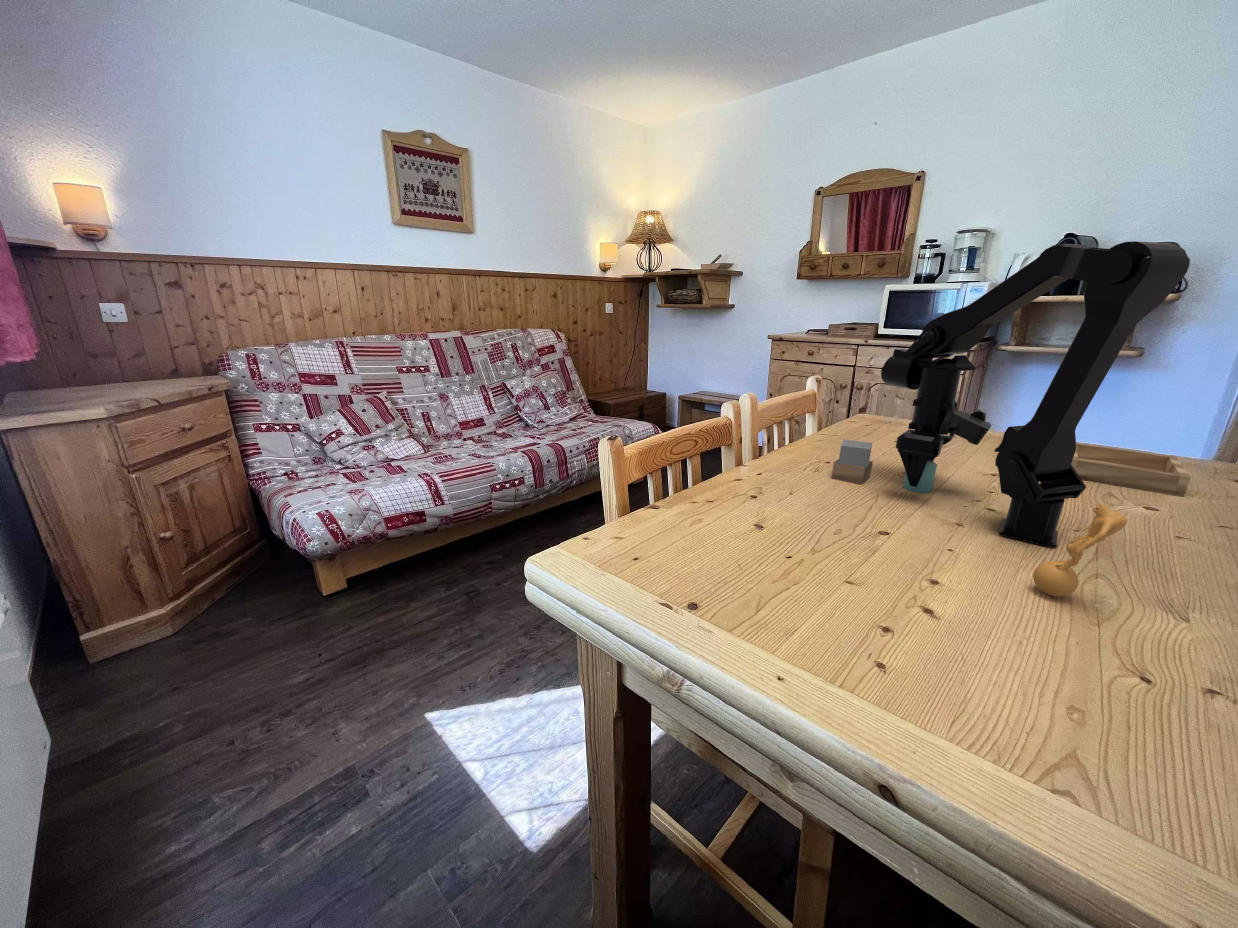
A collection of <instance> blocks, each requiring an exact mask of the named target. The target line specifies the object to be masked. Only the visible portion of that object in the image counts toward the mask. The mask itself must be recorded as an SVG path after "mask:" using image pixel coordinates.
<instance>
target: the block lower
mask: <svg viewBox="0 0 1238 928" xmlns="http://www.w3.org/2000/svg"><path fill="white" fill-rule="evenodd" d="M873 462H874V461H873V460H869V463H868V467H861V466H854V465H847V464H840V463H839V458H838V459H836V460H834V461H833V465H832V473H831V479H832V480H836V481H837V480H838V481H841V482H846V483H850V484H856V485H860V486H862V485H863V484H865V483H866V482H867V481H868V480H870V478H871V475H872V474H871V473H872V468H873Z"/></svg>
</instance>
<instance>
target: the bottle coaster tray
mask: <svg viewBox="0 0 1238 928" xmlns="http://www.w3.org/2000/svg"><path fill="white" fill-rule="evenodd" d="M1071 465H1072V466H1073V468H1074V469H1075V471H1076V472H1077V474H1078V475H1079V477H1080V478H1081V480H1082V481H1088V482H1093V483H1097V484H1098V483H1099V484H1105V485H1110V486H1116V487H1122V488H1130V489H1136V490H1139V491H1140V490H1141V491H1147V492H1152V491H1153V493H1157V492H1159V493H1158V494H1163V493H1164V494H1163V495H1169V494H1170V496H1175V495H1177V497H1181V496H1182V497H1184V496H1185V494H1186V491H1187V489H1188V486H1189V483H1190V482H1191V478H1192V477H1191V476H1190V474H1189V473H1188V471H1187V470H1186V469H1185V467H1184V465H1183V464H1182V462H1181V461H1180V460H1179V459H1178V457H1177V456H1172V455H1165V454H1157V453H1152V452H1151V453H1150V452H1143V451H1135V450H1128V449H1120V448H1113V447H1106V446H1105V447H1104V446H1098V445H1090V444H1084V443H1083V444H1082V443H1077V442H1076V451H1075V454H1074V457H1073V460H1072V463H1071Z"/></svg>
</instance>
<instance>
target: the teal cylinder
mask: <svg viewBox="0 0 1238 928" xmlns="http://www.w3.org/2000/svg"><path fill="white" fill-rule="evenodd" d="M937 468H938V463H936V462H935V461H934V462H932V461H928V463H927V465H926V468H925V470H924V472H923V474H922V477H921V479H920V481H919V484H918V486H917V487H913V486H910V484H909V481H908V478H907V474H906V471H905V472H904V478H903V483H902V484H903V485H902V488H903V489H905V490H906V491H909V492H913V493H917V494H930V493H932V491H933V487H934V486H933V485H934V481H935V476H936V472H937V471H936V470H937Z"/></svg>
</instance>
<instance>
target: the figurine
mask: <svg viewBox="0 0 1238 928" xmlns="http://www.w3.org/2000/svg"><path fill="white" fill-rule="evenodd" d="M1092 512H1094V513H1095V516H1094V517H1093V519H1092V521H1091V525H1090V527H1088V528H1087V530H1086V531H1085V533H1087V534H1086V535H1085V534H1084V535H1082V536H1080V537H1077V538H1074V539H1072V540H1070V542H1069V544H1067V545H1066V551H1067V553H1068V554H1069V556H1070V559H1067V560H1063V559H1060V560H1058V561H1051V560H1050V561H1045V562H1043V563H1040V564H1038V566H1036V567H1035V569H1034V571H1033V574H1032V580H1033V583H1034V585H1035V586H1036V587H1037V588H1038V589H1039V590H1040V591H1041V592H1042V593H1044V594H1046V595H1049V596H1053V597H1066V596H1070V595H1071V594H1073V593H1074V592H1075V591H1076V590H1077V589H1078V586H1079V576H1078V574H1077V573H1076V571H1075V570H1074V568H1072V567H1074V566H1076V565H1078V564H1079V562H1080V560H1081V559H1082V556H1084V555H1083V554H1084V553H1083V550H1088V549H1090V548H1092V547H1094V545H1096V544H1097V543H1100V542H1102V541H1105V540H1106V539H1107V538H1108V537H1110V536H1112V535H1115V534H1117V533H1118V532H1119V531H1121V530H1122V529H1124V528H1125V527H1126V525H1127V523H1128V519H1127V516H1125V515H1124V514H1122V513H1120V512H1117V511H1116V510H1112V509H1110V507H1108V506H1107V505H1106V504H1104V503H1098V504H1095V507H1093V508H1092Z"/></svg>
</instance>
